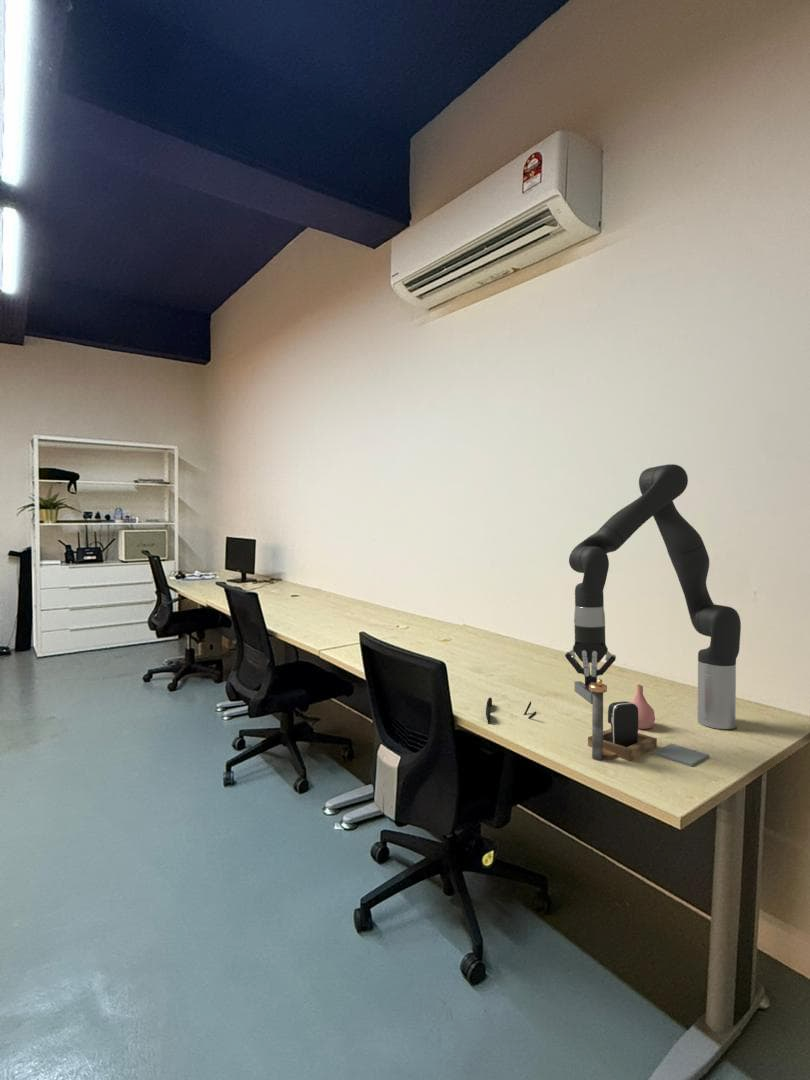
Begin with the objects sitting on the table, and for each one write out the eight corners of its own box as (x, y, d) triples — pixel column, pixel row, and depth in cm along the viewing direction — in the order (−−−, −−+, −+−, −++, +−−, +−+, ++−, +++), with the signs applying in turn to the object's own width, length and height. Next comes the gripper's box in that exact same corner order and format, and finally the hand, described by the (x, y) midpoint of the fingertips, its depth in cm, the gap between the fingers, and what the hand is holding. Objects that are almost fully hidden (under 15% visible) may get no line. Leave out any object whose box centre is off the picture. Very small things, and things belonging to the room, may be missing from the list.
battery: (629, 743, 141) (629, 699, 141) (639, 749, 137) (639, 703, 137) (605, 746, 139) (605, 701, 139) (615, 752, 135) (615, 705, 135)
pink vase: (652, 726, 154) (653, 683, 154) (657, 735, 147) (657, 690, 147) (623, 723, 156) (623, 681, 156) (626, 732, 149) (626, 688, 149)
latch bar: (570, 691, 144) (570, 665, 144) (585, 690, 144) (585, 665, 144) (592, 708, 129) (593, 680, 129) (609, 708, 129) (609, 680, 129)
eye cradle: (616, 735, 146) (616, 675, 146) (656, 748, 138) (657, 684, 138) (574, 752, 135) (574, 687, 135) (616, 767, 126) (616, 697, 126)
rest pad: (671, 745, 139) (671, 743, 139) (708, 757, 132) (708, 754, 132) (653, 754, 134) (653, 752, 134) (691, 766, 127) (691, 764, 127)
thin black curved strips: (537, 733, 149) (537, 714, 149) (483, 729, 152) (483, 711, 152) (534, 713, 166) (534, 697, 166) (486, 710, 168) (486, 694, 168)
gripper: (617, 622, 143) (619, 688, 143) (565, 620, 148) (566, 684, 149) (616, 627, 136) (617, 696, 136) (561, 624, 142) (562, 691, 142)
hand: (590, 690), depth 143 cm, fingers closed
